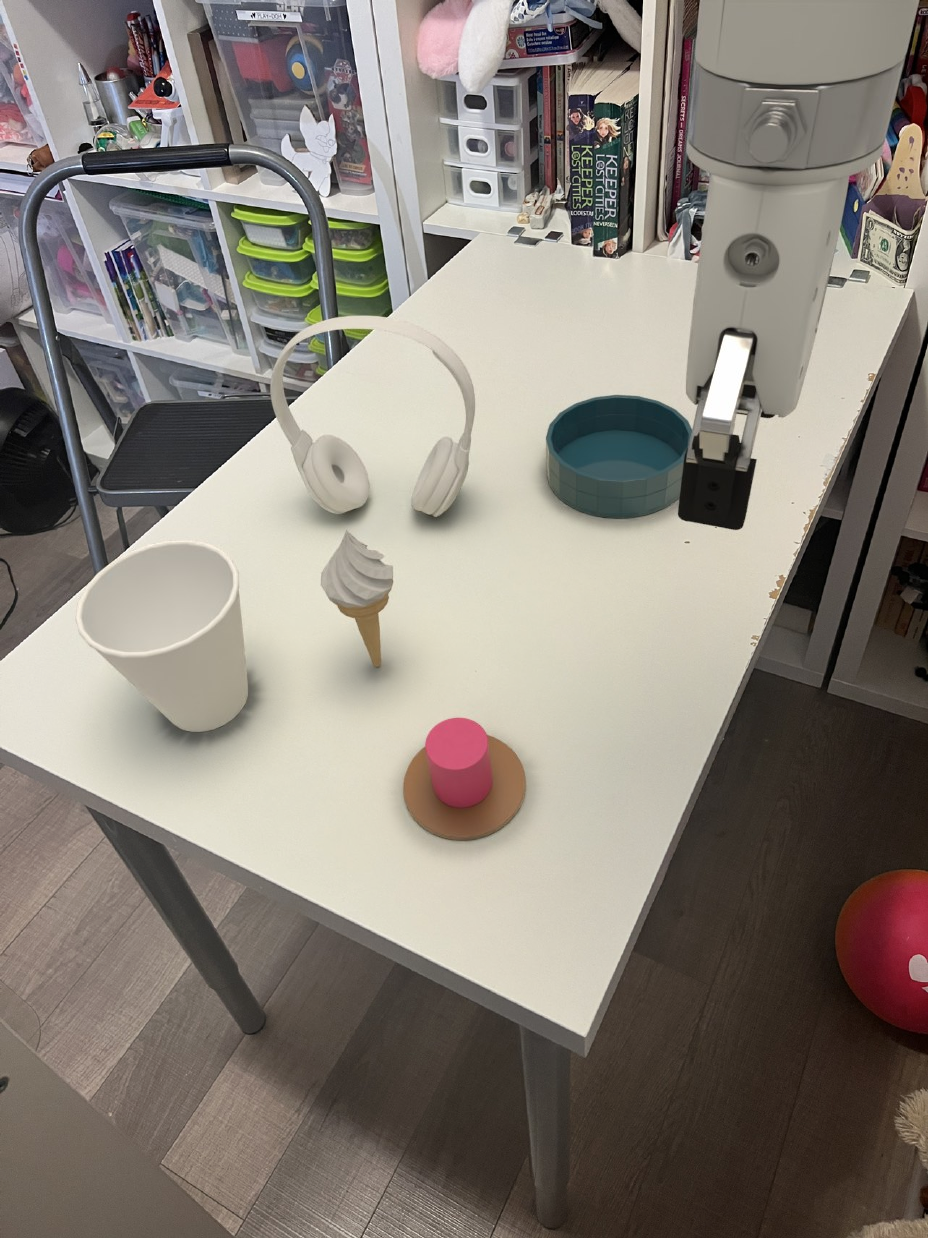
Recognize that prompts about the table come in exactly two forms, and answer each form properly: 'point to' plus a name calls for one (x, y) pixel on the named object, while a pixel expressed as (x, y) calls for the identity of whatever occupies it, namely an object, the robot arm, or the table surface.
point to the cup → (172, 629)
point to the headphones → (336, 465)
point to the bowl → (617, 455)
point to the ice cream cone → (359, 588)
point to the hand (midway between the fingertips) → (729, 463)
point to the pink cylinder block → (459, 762)
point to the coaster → (474, 818)
